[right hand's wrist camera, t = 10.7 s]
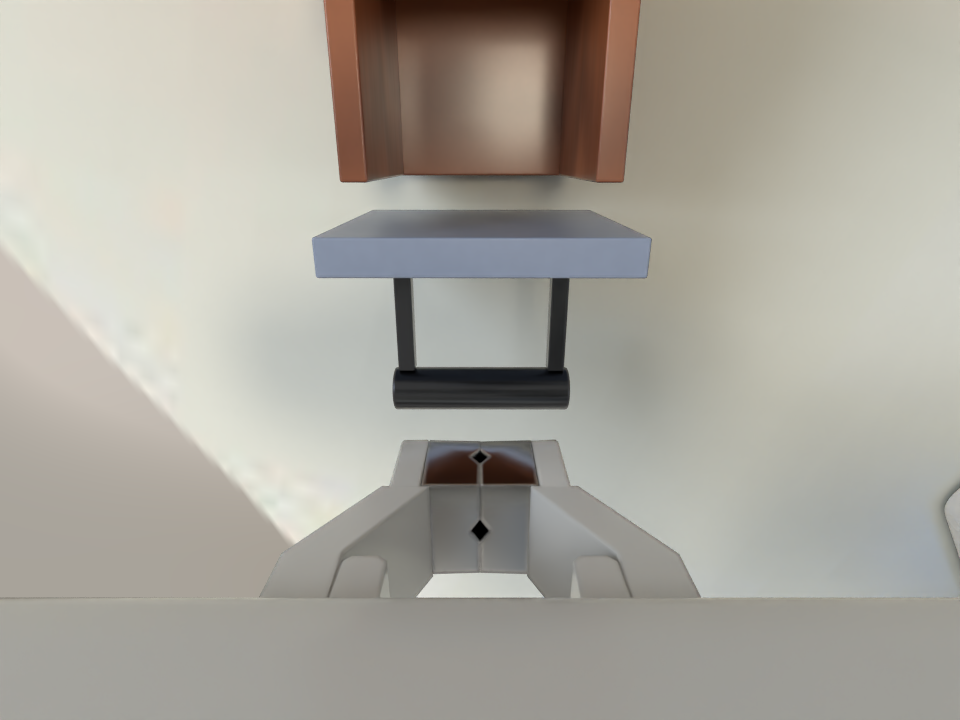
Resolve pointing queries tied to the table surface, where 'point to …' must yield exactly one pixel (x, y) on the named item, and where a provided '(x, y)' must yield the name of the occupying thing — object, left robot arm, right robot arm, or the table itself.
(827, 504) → the table surface
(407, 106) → the drawer
